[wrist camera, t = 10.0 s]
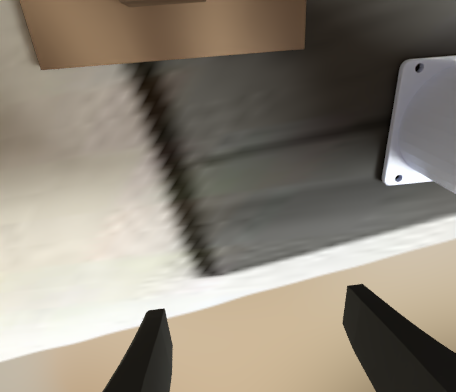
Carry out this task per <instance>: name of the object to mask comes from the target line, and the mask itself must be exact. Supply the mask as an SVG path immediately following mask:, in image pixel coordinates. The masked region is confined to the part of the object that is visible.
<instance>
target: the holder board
mask: <svg viewBox="0 0 456 392" xmlns="http://www.w3.org/2000/svg"><path fill="white" fill-rule="evenodd" d="M19 1H20V4H21V7H22V11H23V14H24V17H25V20H26V23H27V27H28V30H29V33H30V36H31V39H32V43H33V46H34V49H35V52H36V55H37V59H38V62H39V65H40V68H41V70H47V69H60V68H72V67H85V66H98V65H110V64H123V63H135V62H148V61H160V60H173V59H186V58H198V57H211V56H223V55H236V54H248V53H261V52H273V51H286V50H299V49H305V22H306V0H19Z"/></svg>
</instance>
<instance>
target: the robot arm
mask: <svg viewBox="0 0 456 392" xmlns="http://www.w3.org/2000/svg"><path fill="white" fill-rule="evenodd" d="M417 64H419V65H420V68H419V70H418V71H417V72H416V71H415V67H416V65H417ZM397 175H399V177H398V178H397V179H395V177H396V176H397ZM382 181H383V183H385V184H386V185H399V184H409V183H419V182H429V181H434V182H436V183H438V184H439V185H441V186H443V187H444V188H446V189H448V190H450V191H451V192H453V193H455V194H456V55H453V56H440V57H428V58H416V59H408V60H405V61H404V62H403V63H402V64H401V66H400V69H399V75H398V81H397V87H396V93H395V99H394V106H393V112H392V118H391V124H390V130H389V136H388V142H387V149H386V155H385V161H384V167H383V173H382ZM343 325H344V328H345V331H346V333H347V336H348V338H349V341H350V343H351V345H352V348H353V349H354V352H355V354H356V356H357V357H358V359H359V361H360V363H361V365H362V367H363V369H364V370H365V372H366V374H367V376H368V377H369V379H370V381H371V383H372V385H373V387H374V389H375V390H376V392H456V353H454V352H453V351H451V350H450V349H448V348H447V347H445V346H444V345H442V344H441V343H439V342H437V341H436V340H435V339H434V338H432V337H431V336H429V335H428V334H426V333H425V332H424V331H422V330H421V329H419V328H418V327H417V326H415V325H414V324H413V323H411V322H410V321H409V320H407V319H406V318H405V317H403V316H402V315H401V314H399V313H398V312H397V311H395V310H394V309H393V308H392V307H390V306H389V305H388V304H387V303H385V302H384V301H383V300H382V299H380V298H379V297H378V296H376V295H375V294H374V293H373V292H372V291H371V290H369V289H368V288H367V287H365V286H364V285H363V284H359V285H351V286H347V293H346V301H345V309H344V316H343ZM172 346H173V345H172V341H171V336H170V331H169V327H168V322H167V318H166V313H165V309H157V310H149V311H148V312H147V313H146V314H145V317H144V319H143V321H142V323H141V325H140V327H139V329H138V332H137V333H136V335H135V337H134V339H133V341H132V343H131V345H130V347H129V349H128V350H127V352H126V354H125V356H124V357H123V359H122V361H121V363H120V365H119V366H118V368H117V369H116V371H115V373H114V374H113V376H112V377H111V379H110V381H109V382H108V384H107V386H106V387H105V389H104V390H103V392H169V391H170V383H171V375H172Z"/></svg>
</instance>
